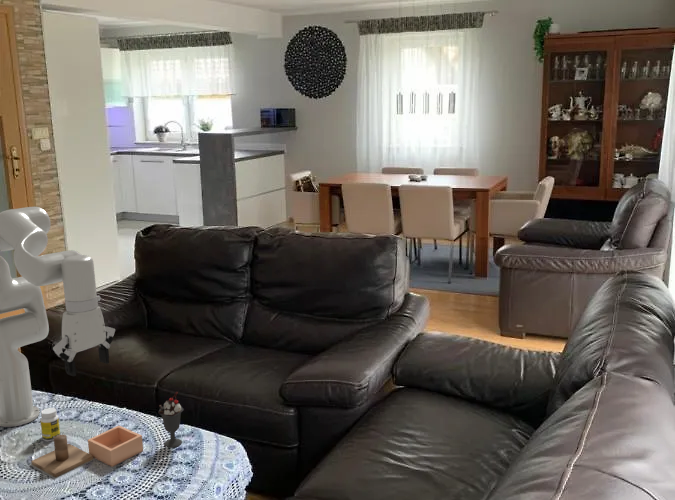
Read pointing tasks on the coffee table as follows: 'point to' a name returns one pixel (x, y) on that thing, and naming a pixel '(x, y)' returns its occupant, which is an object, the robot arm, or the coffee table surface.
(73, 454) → the lid
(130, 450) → the open wooden box
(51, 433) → the supplement bottle
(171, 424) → the sundae
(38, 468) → the mat
